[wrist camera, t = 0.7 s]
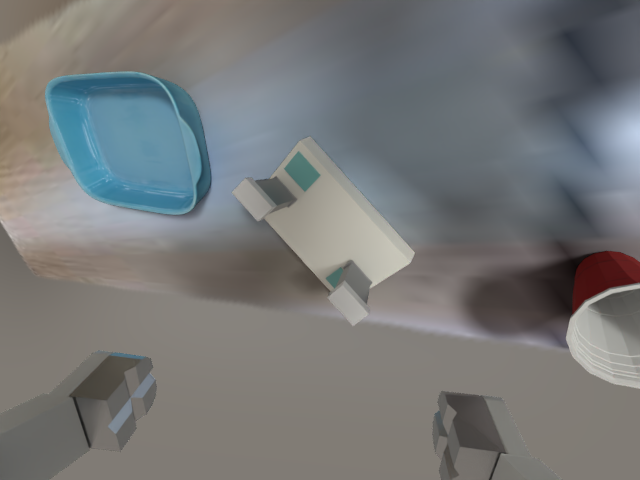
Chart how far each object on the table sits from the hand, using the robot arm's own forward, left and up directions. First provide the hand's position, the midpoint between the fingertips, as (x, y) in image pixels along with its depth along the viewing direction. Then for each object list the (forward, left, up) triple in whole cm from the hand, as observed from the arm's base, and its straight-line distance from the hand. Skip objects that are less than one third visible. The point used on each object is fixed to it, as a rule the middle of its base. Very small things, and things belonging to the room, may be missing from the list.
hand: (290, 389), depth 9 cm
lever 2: (+21, +4, -33) cm, 40 cm away
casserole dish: (+35, -39, -38) cm, 64 cm away
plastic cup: (-1, +23, -38) cm, 44 cm away
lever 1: (+19, -12, -33) cm, 40 cm away
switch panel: (+20, -4, -38) cm, 43 cm away
